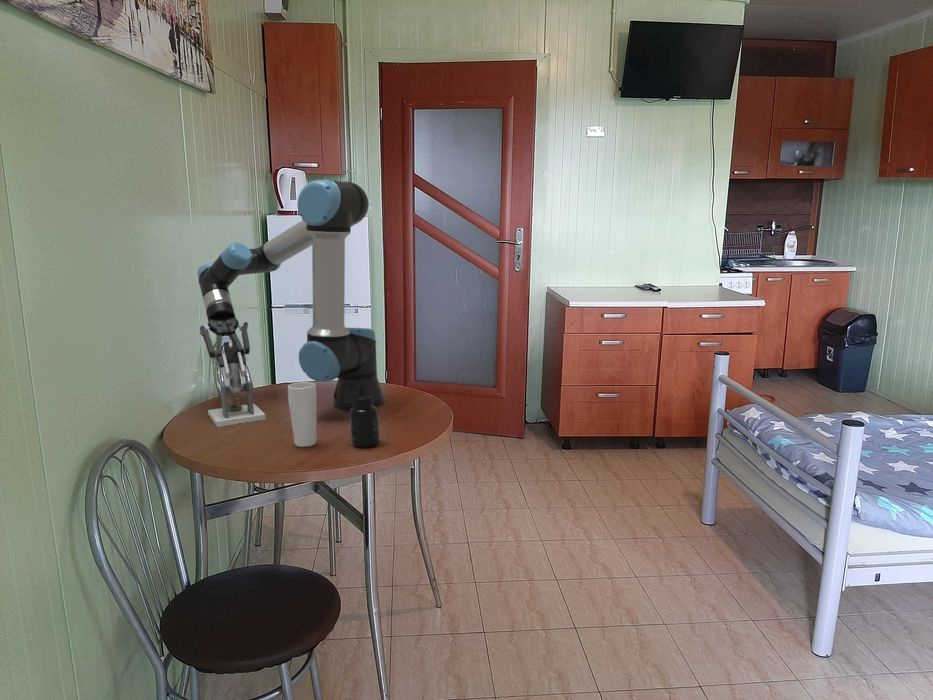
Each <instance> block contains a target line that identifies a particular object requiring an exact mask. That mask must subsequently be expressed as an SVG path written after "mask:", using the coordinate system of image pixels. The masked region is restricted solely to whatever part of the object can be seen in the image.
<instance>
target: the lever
mask: <svg viewBox="0 0 933 700" xmlns="http://www.w3.org/2000/svg"><path fill="white" fill-rule="evenodd" d="M223 349H224V354H225V356H226V360H227V364H228V368H229V372H230V373H229V378H228V381H229V385H225V386H226V392H227V395H228V394H236V393H243V392H246V391H247V387H246V383H245V382H244V383H242V379H241V373H240V369H239V357H238V350H237V342H236V341H232V340H230V341H225V342H223Z"/></svg>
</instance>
